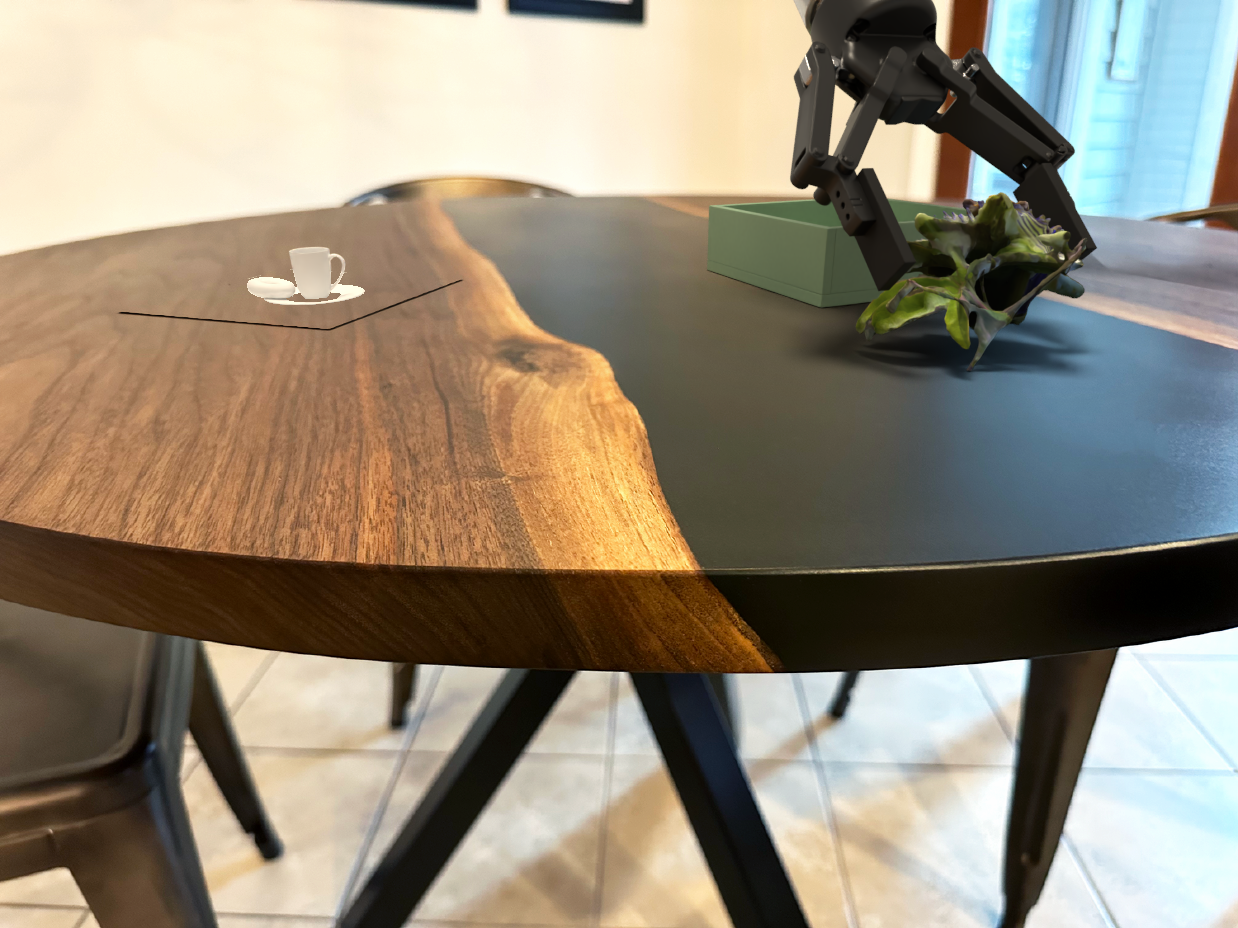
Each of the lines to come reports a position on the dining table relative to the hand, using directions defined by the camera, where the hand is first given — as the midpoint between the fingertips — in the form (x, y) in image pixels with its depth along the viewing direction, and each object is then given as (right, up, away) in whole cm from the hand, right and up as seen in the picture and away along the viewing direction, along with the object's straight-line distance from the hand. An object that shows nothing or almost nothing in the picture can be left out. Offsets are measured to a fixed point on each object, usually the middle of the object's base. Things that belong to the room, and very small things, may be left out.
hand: (991, 270), depth 49 cm
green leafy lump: (0, -4, +3) cm, 6 cm away
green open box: (-1, +6, +27) cm, 28 cm away
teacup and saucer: (-49, +3, +23) cm, 54 cm away
